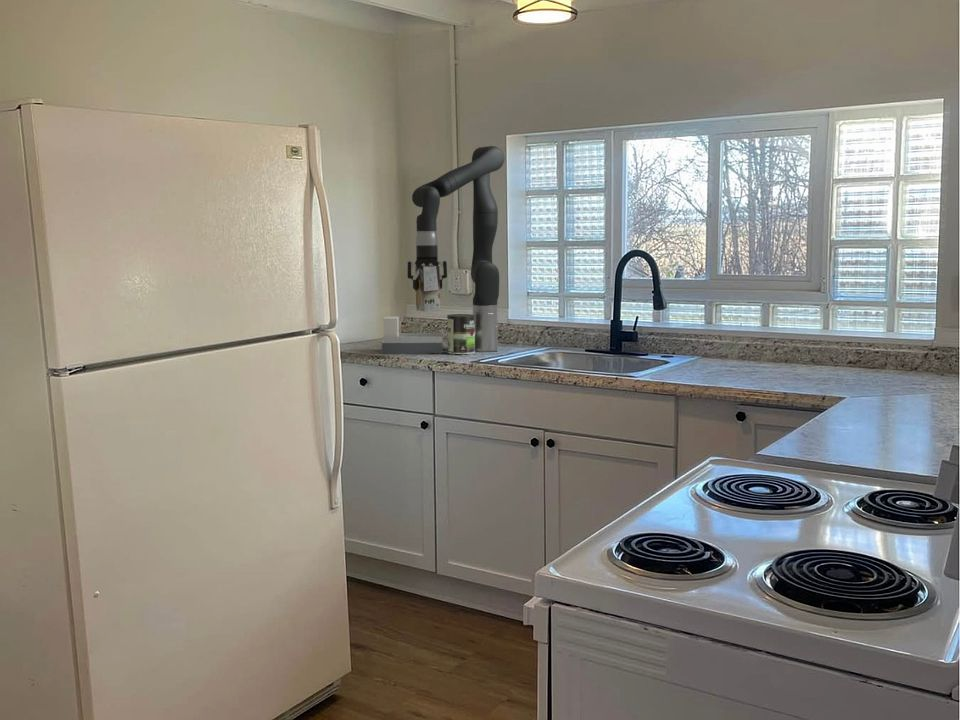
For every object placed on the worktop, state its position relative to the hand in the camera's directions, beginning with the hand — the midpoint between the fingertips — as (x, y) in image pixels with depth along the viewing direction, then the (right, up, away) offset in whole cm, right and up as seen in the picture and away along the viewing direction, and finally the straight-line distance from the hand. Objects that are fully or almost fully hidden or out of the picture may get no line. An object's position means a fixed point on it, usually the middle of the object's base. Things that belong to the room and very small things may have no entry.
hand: (427, 290), depth 321 cm
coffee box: (0, -7, +1) cm, 7 cm away
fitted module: (-14, -17, +16) cm, 27 cm away
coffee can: (+12, -22, +13) cm, 28 cm away
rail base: (-6, -22, +17) cm, 28 cm away
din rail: (-6, -18, +16) cm, 25 cm away
